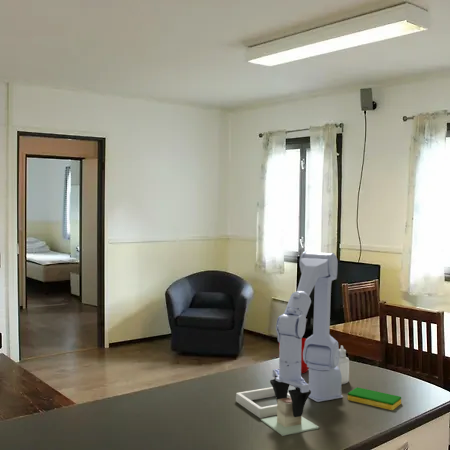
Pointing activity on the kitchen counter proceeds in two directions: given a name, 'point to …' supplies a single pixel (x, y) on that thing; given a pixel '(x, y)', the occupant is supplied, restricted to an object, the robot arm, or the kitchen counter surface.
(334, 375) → the robot arm
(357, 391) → the dish sponge
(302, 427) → the pad
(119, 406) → the kitchen counter surface
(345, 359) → the eye dropper bottle
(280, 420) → the birch block
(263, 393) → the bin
